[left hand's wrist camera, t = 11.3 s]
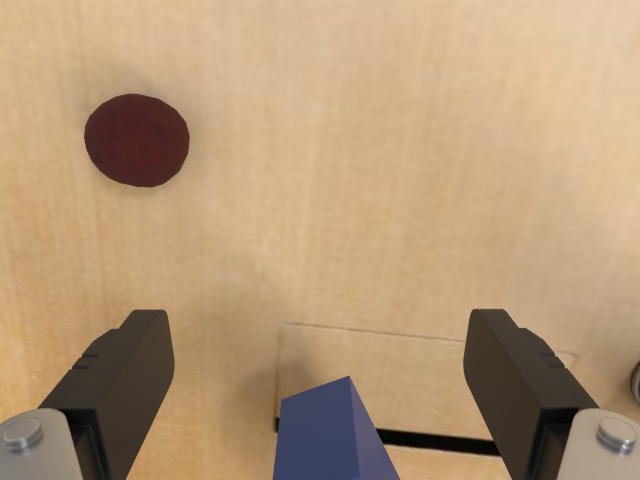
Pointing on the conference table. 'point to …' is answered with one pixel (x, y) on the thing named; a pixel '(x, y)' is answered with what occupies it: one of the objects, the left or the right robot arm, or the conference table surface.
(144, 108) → the potato
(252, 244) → the conference table surface
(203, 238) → the conference table surface
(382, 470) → the box
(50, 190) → the conference table surface
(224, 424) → the conference table surface
